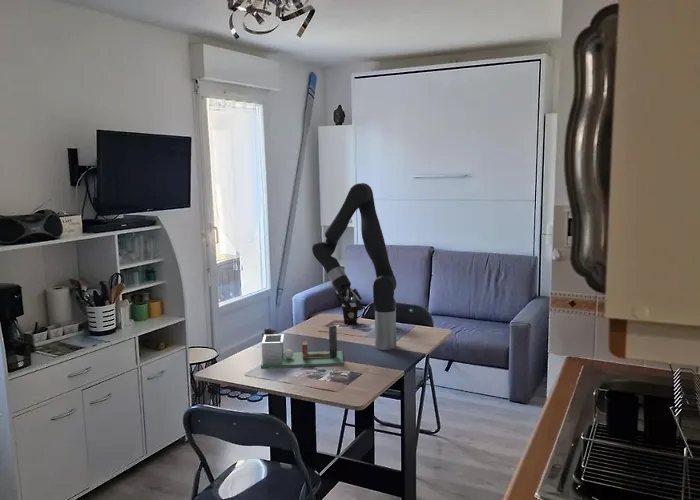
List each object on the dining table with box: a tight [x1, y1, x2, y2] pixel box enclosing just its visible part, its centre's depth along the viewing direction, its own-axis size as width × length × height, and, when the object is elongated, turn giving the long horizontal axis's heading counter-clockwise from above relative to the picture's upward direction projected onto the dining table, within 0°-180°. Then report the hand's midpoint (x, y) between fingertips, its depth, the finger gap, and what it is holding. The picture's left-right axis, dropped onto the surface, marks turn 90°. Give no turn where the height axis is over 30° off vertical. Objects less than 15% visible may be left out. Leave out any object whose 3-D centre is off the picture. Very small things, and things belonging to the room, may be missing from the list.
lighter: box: [261, 327, 277, 338], centre depth 261 cm, size 8×3×10 cm, turn 62°
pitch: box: [260, 350, 345, 369], centre depth 247 cm, size 34×16×1 cm, turn 93°
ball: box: [284, 348, 294, 359], centre depth 246 cm, size 4×4×4 cm
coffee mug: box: [341, 302, 366, 326], centre depth 303 cm, size 12×9×10 cm
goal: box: [261, 333, 285, 364], centre depth 245 cm, size 8×12×9 cm
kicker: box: [301, 324, 338, 359], centre depth 246 cm, size 15×5×13 cm, turn 93°
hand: (355, 309), depth 253 cm, fingers open, 8 cm apart
